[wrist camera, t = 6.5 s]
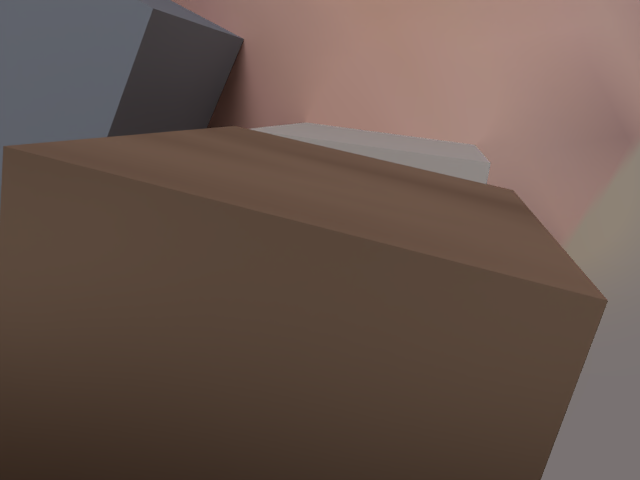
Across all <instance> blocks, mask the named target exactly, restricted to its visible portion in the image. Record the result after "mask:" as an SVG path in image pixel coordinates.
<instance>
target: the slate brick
mask: <svg viewBox="0 0 640 480" xmlns="http://www.w3.org/2000/svg"><path fill="white" fill-rule="evenodd" d="M243 40H244V39H243V38H241V37H239V36H237V35H235V34H233V33H231V32H229V31H228V30H226V29H224V28H222V27H220V26H218V25H216V24H214V23H212V22H210V21H209V20H207V19H205V18H203V17H201V16H199V15H197V14H195V13H193V12H192V11H190V10H188V9H186V8H184V7H182V6H180V5H178V4H176V3H174V2H173V1H171V0H0V207H1V185H2V163H3V146H10V145H21V144H33V143H44V142H56V141H67V140H79V139H90V138H102V137H113V136H125V135H136V134H147V133H159V132H170V131H182V130H193V129H205V128H207V126H208V124H209V121H210V119H211V117H212V114H213V112H214V109H215V107H216V105H217V102H218V100H219V97H220V95H221V93H222V90H223V88H224V85H225V83H226V81H227V78H228V76H229V73H230V71H231V69H232V66H233V64H234V61H235V59H236V57H237V54H238V52H239V49H240V47H241V45H242V42H243Z"/></svg>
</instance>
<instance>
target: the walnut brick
mask: <svg viewBox="0 0 640 480" xmlns="http://www.w3.org/2000/svg"><path fill="white" fill-rule="evenodd" d="M607 302H608V301H607V299H606V298H605V297H604V296H603V295H602V293H601V292H600V291H599V290H598V289H597V287H596V286H595V285H594V284H593V283H592V282H591V280H590V279H589V278H588V277H587V276H586V275H585V274H584V272H583V271H582V270H581V269H580V268H579V267H578V265H577V264H576V263H575V262H574V261H573V260H572V259H571V257H570V256H569V255H568V254H567V253H566V251H565V250H564V249H563V248H562V247H561V246H560V244H559V243H558V242H557V241H556V240H555V239H554V237H553V236H552V235H551V234H550V233H549V232H548V230H547V229H546V228H545V227H544V226H543V225H542V223H541V222H540V221H539V220H538V219H537V218H536V217H535V215H534V214H533V213H532V212H531V211H530V210H529V208H528V207H527V206H526V205H525V204H524V203H523V201H522V200H521V199H520V198H519V197H518V196H517V194H516V193H515V192H514V191H513V190H509V189H505V188H501V187H496V186H492V185H488V184H484V183H479V182H475V181H471V180H466V179H462V178H458V177H453V176H449V175H445V174H440V173H436V172H432V171H428V170H423V169H419V168H415V167H410V166H406V165H402V164H397V163H393V162H389V161H384V160H380V159H376V158H372V157H367V156H363V155H359V154H354V153H350V152H346V151H341V150H337V149H333V148H328V147H324V146H320V145H315V144H311V143H307V142H303V141H298V140H294V139H290V138H285V137H281V136H277V135H272V134H268V133H264V132H259V131H255V130H251V129H247V128H242V127H238V126H228V127H216V128H205V129H193V130H182V131H170V132H159V133H147V134H136V135H125V136H113V137H102V138H90V139H79V140H67V141H56V142H44V143H33V144H21V145H10V146H3V163H2V185H1V207H0V480H540V479H541V477H542V474H543V472H544V469H545V466H546V464H547V461H548V458H549V456H550V453H551V450H552V447H553V445H554V442H555V440H556V437H557V434H558V432H559V429H560V427H561V424H562V421H563V418H564V416H565V413H566V411H567V408H568V405H569V402H570V400H571V397H572V394H573V392H574V389H575V387H576V384H577V381H578V379H579V376H580V373H581V371H582V368H583V365H584V363H585V360H586V357H587V355H588V352H589V349H590V347H591V344H592V341H593V339H594V336H595V333H596V331H597V328H598V326H599V323H600V320H601V318H602V315H603V312H604V309H605V307H606V304H607Z"/></svg>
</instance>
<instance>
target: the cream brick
mask: <svg viewBox="0 0 640 480" xmlns="http://www.w3.org/2000/svg"><path fill="white" fill-rule="evenodd" d="M251 130H255V131H259V132H264V133H268V134H272V135H277V136H281V137H285V138H290V139H294V140H298V141H303V142H307V143H311V144H315V145H320V146H324V147H328V148H333V149H337V150H341V151H346V152H350V153H354V154H359V155H363V156H367V157H372V158H376V159H380V160H384V161H389V162H393V163H397V164H402V165H406V166H410V167H415V168H419V169H423V170H428V171H432V172H436V173H440V174H445V175H449V176H453V177H458V178H462V179H466V180H471V181H475V182H479V183H484V184H487V179H488V174H489V168H490V162H489V160H488V159H487V158H486V157H485V156H484V155H483V154H482V152H481V151H480V150H479V149H478V148H477V147H476V146H475V145H473V144H465V143H457V142H450V141H442V140H435V139H427V138H420V137H412V136H404V135H397V134H389V133H382V132H374V131H367V130H359V129H351V128H344V127H336V126H329V125H321V124H314V123H297V124H288V125H279V126H270V127H261V128H252V129H251Z"/></svg>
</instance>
